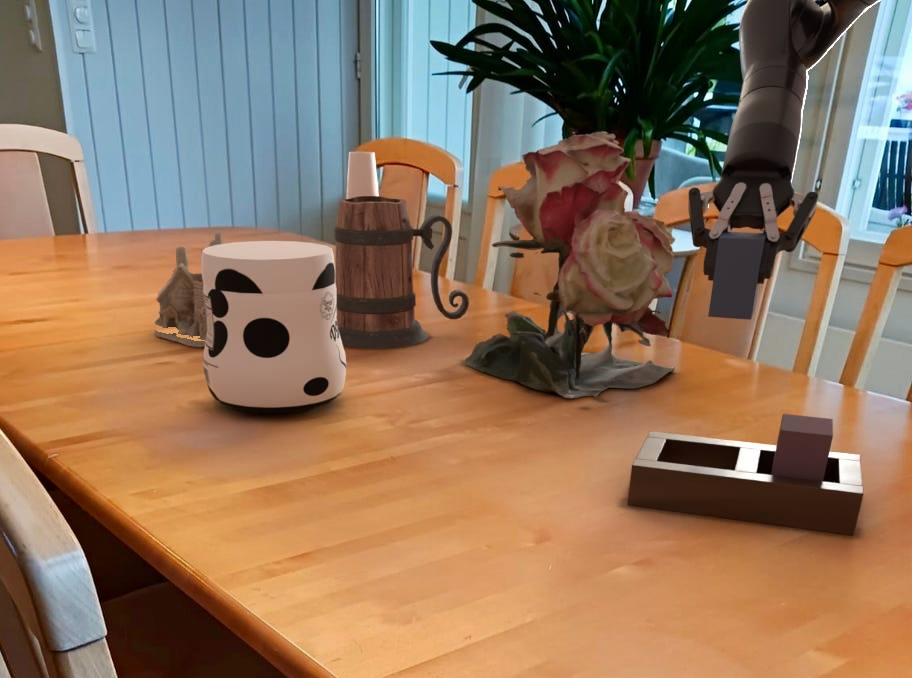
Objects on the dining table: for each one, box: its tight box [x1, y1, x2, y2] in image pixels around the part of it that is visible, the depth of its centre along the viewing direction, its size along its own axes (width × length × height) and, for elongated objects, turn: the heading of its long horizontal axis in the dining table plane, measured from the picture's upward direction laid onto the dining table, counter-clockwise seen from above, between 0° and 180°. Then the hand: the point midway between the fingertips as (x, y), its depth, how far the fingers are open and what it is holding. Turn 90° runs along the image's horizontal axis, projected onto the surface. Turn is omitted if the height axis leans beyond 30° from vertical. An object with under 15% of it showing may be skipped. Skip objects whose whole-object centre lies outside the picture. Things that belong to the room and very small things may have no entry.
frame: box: [626, 430, 865, 536], centre depth 94 cm, size 11×20×4 cm, turn 71°
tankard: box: [333, 195, 470, 349], centre depth 150 cm, size 24×17×20 cm
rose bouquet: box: [449, 131, 676, 400], centre depth 130 cm, size 26×29×30 cm
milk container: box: [200, 240, 347, 414], centre depth 117 cm, size 17×17×18 cm
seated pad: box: [771, 413, 834, 481], centre depth 92 cm, size 6×4×8 cm
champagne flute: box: [345, 151, 380, 199], centre depth 185 cm, size 7×7×24 cm
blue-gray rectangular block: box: [708, 231, 766, 321], centre depth 105 cm, size 6×4×8 cm
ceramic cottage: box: [154, 232, 224, 348], centre depth 150 cm, size 16×16×15 cm
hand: (736, 276), depth 103 cm, fingers closed on blue-gray rectangular block, 4 cm apart
